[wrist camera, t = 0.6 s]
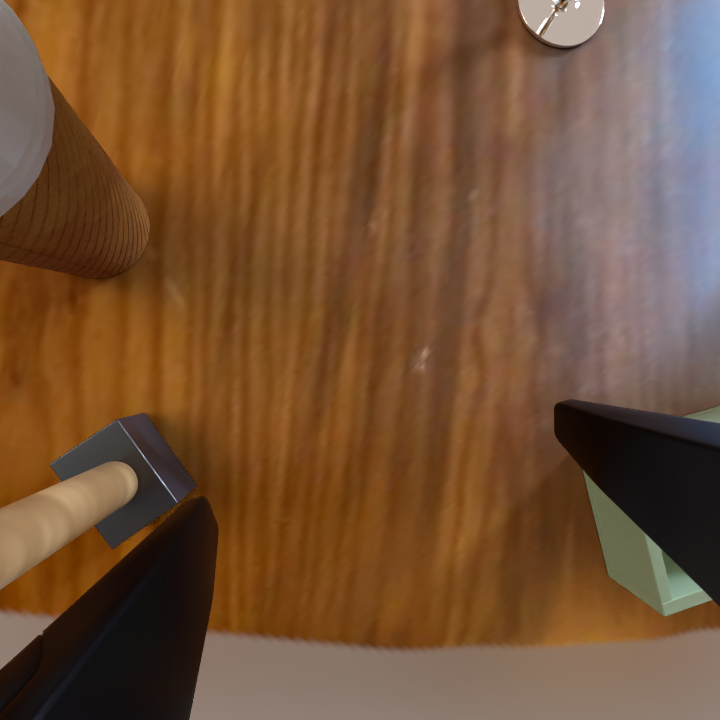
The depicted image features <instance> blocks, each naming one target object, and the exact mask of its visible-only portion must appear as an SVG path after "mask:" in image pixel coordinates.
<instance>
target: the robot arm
mask: <svg viewBox="0 0 720 720" xmlns="http://www.w3.org/2000/svg"><path fill="white" fill-rule="evenodd" d="M554 432H555V435H556V438H557V439H558V441H559V442H560V443H561V444H562V446H563V447H564V448H565V449H566V450H567V451H568V453H569V454H570V455H571V456H572V457H573V459H574V460H575V461H576V462H577V463H578V464H579V466H580V467H581V468H582V469H583V470H584V472H585V473H586V474H587V475H588V476H589V477H590V479H591V480H592V481H593V482H594V483H595V484H596V485H597V486H598V487H599V488H600V489H601V490H602V492H603V493H604V494H605V495H606V496H607V497H608V498H610V499H611V500H612V501H613V502H614V503H615V504H616V505H617V506H618V507H619V508H620V509H621V510H622V511H623V512H624V513H625V514H626V515H627V516H628V517H629V518H630V519H631V520H632V521H633V522H634V523H635V524H636V525H637V526H638V527H639V528H640V529H641V530H642V531H643V532H644V533H645V534H646V535H647V536H648V537H649V538H650V539H651V540H652V541H653V542H654V543H655V544H656V545H657V546H658V547H659V548H660V549H662V550H663V551H664V552H665V553H666V554H667V555H668V556H669V557H670V558H671V559H672V560H673V561H674V562H675V563H676V564H677V565H678V566H679V567H680V568H681V569H682V570H683V571H684V572H685V573H686V574H687V575H688V576H689V577H690V578H691V579H692V580H693V581H694V582H695V583H696V584H697V585H698V586H699V587H700V588H701V589H702V590H703V591H704V592H705V593H706V594H707V595H708V596H709V597H710V598H711V599H712V600H714V601H715V602H716V603H717V604H718V605H719V606H720V423H716V422H710V421H704V420H697V419H691V418H685V417H679V416H673V415H666V414H660V413H654V412H648V411H641V410H635V409H629V408H623V407H617V406H610V405H604V404H598V403H592V402H586V401H579V400H573V399H570V400H566V401H562V402H558V403H557V404H556V405H555V407H554ZM217 545H218V525H217V521H216V519H215V516H214V514H213V511H212V509H211V506H210V504H209V501H208V500H207V498H206V497H204V496H201V497H197V498H193V499H190V500H187V501H185V502H184V503H183V504H182V505H181V506H180V507H179V508H178V509H177V510H176V511H174V512H173V513H172V514H171V515H170V516H169V517H168V518H167V519H166V520H165V521H163V522H162V523H161V524H160V525H159V526H158V527H157V528H156V529H155V530H154V531H152V532H151V533H150V534H149V535H148V536H147V537H146V538H145V539H144V540H143V541H142V542H140V543H139V544H138V545H137V546H136V547H135V548H134V549H133V550H132V551H131V552H129V553H128V554H127V555H126V556H125V557H124V558H123V559H122V560H121V561H120V562H118V563H117V564H116V565H115V566H114V567H113V568H112V569H111V570H110V571H109V572H108V573H106V574H105V575H104V576H103V577H102V578H101V579H100V580H99V581H98V582H97V583H95V584H94V585H93V586H92V587H91V588H90V589H89V590H88V591H87V592H86V593H84V594H83V595H82V596H81V597H80V598H79V599H78V600H77V601H76V602H75V603H73V604H72V605H71V606H70V607H69V608H68V609H67V610H66V611H65V612H64V613H63V614H61V615H60V616H59V617H58V618H57V619H56V620H55V621H54V622H53V623H52V624H50V625H49V626H48V627H47V628H46V629H45V630H44V631H43V634H42V635H38V636H37V637H36V638H35V639H34V640H33V641H32V642H31V643H30V644H29V645H27V646H26V647H25V648H24V649H23V650H22V651H21V652H20V653H19V654H17V655H16V656H15V657H14V658H13V659H12V660H11V661H10V662H9V663H7V664H6V665H5V666H4V667H3V668H2V669H1V670H0V720H189V718H190V713H191V708H192V703H193V698H194V693H195V687H196V682H197V677H198V672H199V667H200V662H201V657H202V652H203V647H204V641H205V636H206V631H207V626H208V621H209V616H210V611H211V605H212V599H213V591H214V580H215V568H216V556H217Z"/></svg>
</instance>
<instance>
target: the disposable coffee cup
mask: <svg viewBox="0 0 720 720" xmlns="http://www.w3.org/2000/svg"><path fill="white" fill-rule="evenodd" d="M149 233H150V222H149V217H148V213H147V210H146V208H145V206H144V204H143V202H142V200H141V199H140V197H139V196H138V195H137V194H136V192H135V191H134V190H133V188H132V187H131V186H130V184H129V183H128V182H127V181H126V179H125V178H124V176H123V175H122V174H121V172H120V171H119V170H118V168H117V167H116V166H115V164H114V163H113V162H112V160H111V159H110V158H109V156H108V155H107V154H106V152H105V151H104V150H103V148H102V147H101V146H100V144H99V143H98V142H97V140H96V139H95V138H94V136H93V135H92V134H91V132H90V131H89V130H88V128H87V127H86V126H85V124H84V123H83V121H82V120H81V119H80V117H79V116H78V115H77V113H76V112H75V111H74V109H73V108H72V107H71V105H70V104H69V103H68V102H67V100H66V99H65V98H64V96H63V95H62V94H61V92H60V91H59V90H58V88H57V87H56V86H55V84H54V83H53V82H52V80H51V79H50V78H49V77H48V75H47V74H46V72H45V69H44V67H43V64H42V62H41V59H40V56H39V54H38V51H37V49H36V46H35V44H34V42H33V40H32V39H31V37H30V35H29V34H28V32H27V30H26V29H25V27H24V25H23V24H22V22H21V21H20V19H19V18H18V17H17V15H16V14H15V13H14V11H13V10H12V9H11V8H10V7H9V6H8V5H7V4H6V3H5V2H4V1H3V0H0V260H3V261H8V262H13V263H18V264H23V265H27V266H33V267H38V268H43V269H48V270H53V271H58V272H63V273H68V274H73V275H77V276H82V277H87V278H104V277H110V276H113V275H115V274H118V273H121V272H123V271H124V270H126V269H128V268H129V267H130V266H132V265H133V264H134V263H135V262H136V261H137V260H138V259H139V257H140V256H141V255H142V253H143V252H144V250H145V248H146V245H147V243H148V238H149Z"/></svg>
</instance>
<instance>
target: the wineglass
mask: <svg viewBox="0 0 720 720" xmlns="http://www.w3.org/2000/svg"><path fill="white" fill-rule="evenodd" d="M517 7H518V12H519V15H520V17H521V20H522V22H523V23H524V25H525V27H526V28H527V29H528V30H529V32H530V33H531V34H532V35H533V36H534V37H536V38H537V39H538V40H540V41H541V42H543V43H545V44H547V45H550V46H553V47H557V48H571V47H575V46H578V45H580V44H582V43H584V42H586V41H587V40H588V39H589V38H591V37H592V35H593V34H594V33H595V32H596V30H597V29H598V27H599V25H600V23H601V21H602V18H603V13H604V0H517Z"/></svg>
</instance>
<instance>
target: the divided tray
mask: <svg viewBox="0 0 720 720" xmlns="http://www.w3.org/2000/svg"><path fill="white" fill-rule="evenodd" d="M683 417H685V418H691V419H697V420H704V421H710V422H716V423H720V406H717V407H714V408H710V409H707V410H703V411H700V412H697V413H693V414H690V415H686V416H683ZM583 473H584V477H585V482H586V486H587V490H588V494H589V498H590V502H591V506H592V510H593V514H594V518H595V522H596V526H597V530H598V534H599V539H600V543H601V547H602V551H603V555H604V559H605V563H606V567H607V571H608V575H609V577H610V578H612V579H613V580H615V581H616V582H617V583H619V584H620V585H621V586H623V587H624V588H626V589H627V590H628V591H630V592H631V593H632V594H634V595H635V596H637V597H638V598H639V599H641V600H642V601H643V602H645V603H646V604H648V605H649V606H650V607H652V608H653V609H654V610H656V611H657V612H659V613H660V614H661V615H663V616H664V617H666V616H668V615H671V614H674V613H677V612H680V611H683V610H685V609H688V608H691V607H694V606H697V605H700V604H702V603H705V602H708V601H711V600H712V599H711V598H710V597H709V596H708V595H707V594H706V593H705V592H704V591H703V590H702V589H701V588H700V587H699V586H698V585H697V584H696V583H695V582H694V581H693V580H692V579H691V578H690V577H689V576H688V575H687V574H686V573H685V572H684V571H683V570H682V569H681V568H680V567H679V566H678V565H677V564H676V563H675V562H674V561H673V560H672V559H671V558H670V557H669V556H668V555H667V554H666V553H665V552H664V551H663V550H662V549H660V548H659V547H658V546H657V545H656V544H655V543H654V542H653V541H652V540H651V539H650V538H649V537H648V536H647V535H646V534H645V533H644V532H643V531H642V530H641V529H640V528H639V527H638V526H637V525H636V524H635V523H634V522H633V521H632V520H631V519H630V518H629V517H628V516H627V515H626V514H625V513H624V512H623V511H622V510H621V509H620V508H619V507H618V506H617V505H616V504H615V503H614V502H613V501H612V500H611V499H610V498H608V497H607V496H606V495H605V494H604V493H603V492H602V490H601V489H600V488H599V487H598V486H597V485H596V484H595V483H594V482H593V481H592V480H591V479H590V477H589V476H588V475H587V474H586V473H585V472H584V470H583Z"/></svg>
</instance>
